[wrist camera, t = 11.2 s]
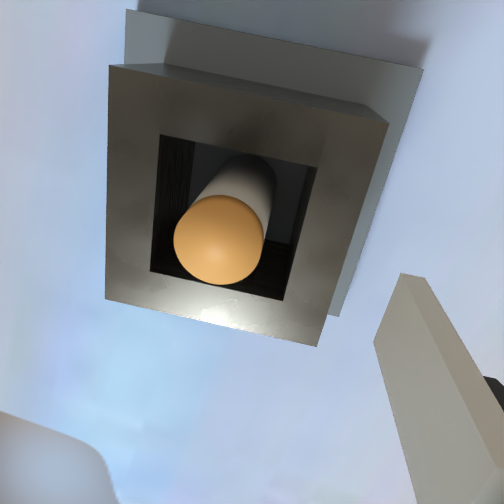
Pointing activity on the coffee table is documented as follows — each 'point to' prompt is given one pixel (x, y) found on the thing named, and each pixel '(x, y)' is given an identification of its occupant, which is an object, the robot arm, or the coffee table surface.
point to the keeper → (256, 166)
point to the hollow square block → (179, 180)
